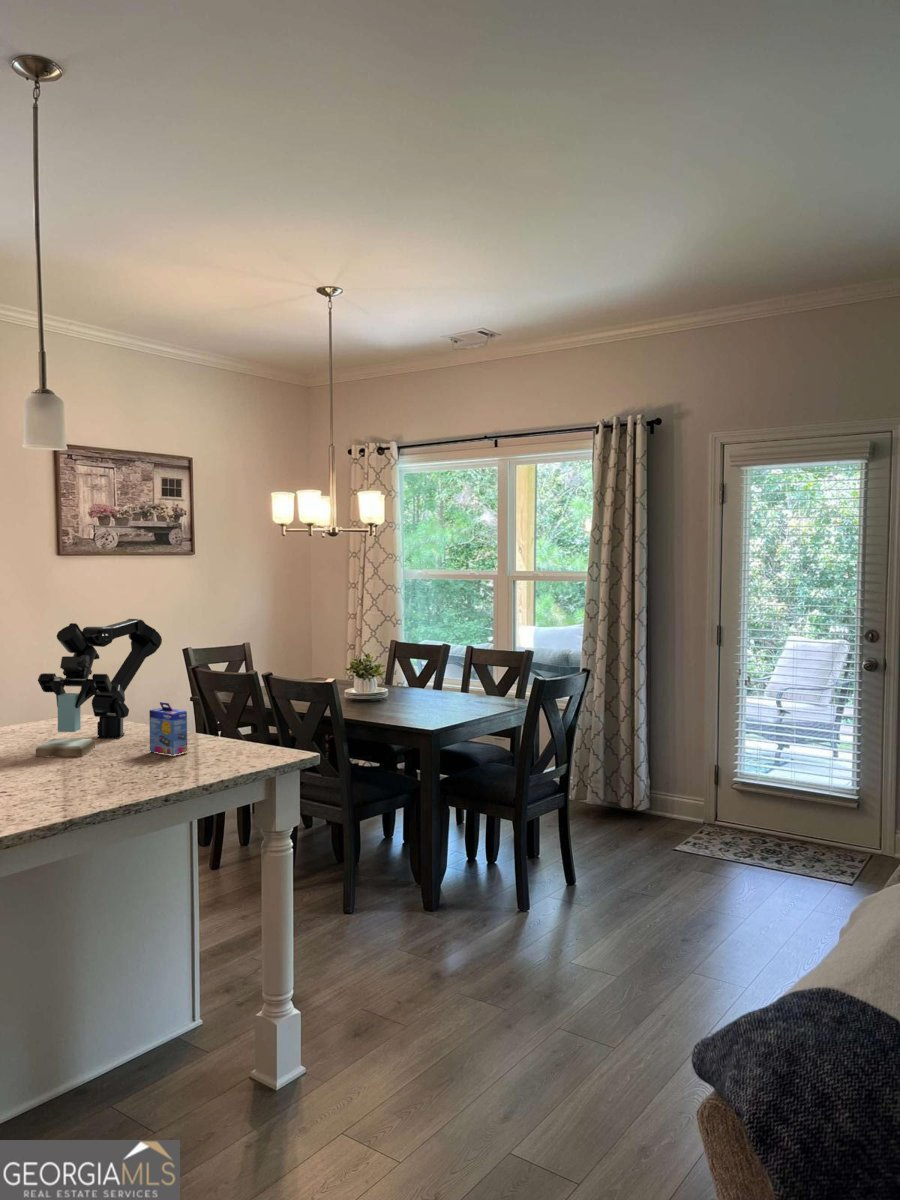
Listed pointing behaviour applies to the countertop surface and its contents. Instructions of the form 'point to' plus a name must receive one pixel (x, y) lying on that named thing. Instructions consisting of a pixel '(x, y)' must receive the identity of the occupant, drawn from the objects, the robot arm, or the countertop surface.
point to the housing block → (68, 713)
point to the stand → (65, 747)
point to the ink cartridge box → (168, 730)
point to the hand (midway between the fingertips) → (67, 707)
